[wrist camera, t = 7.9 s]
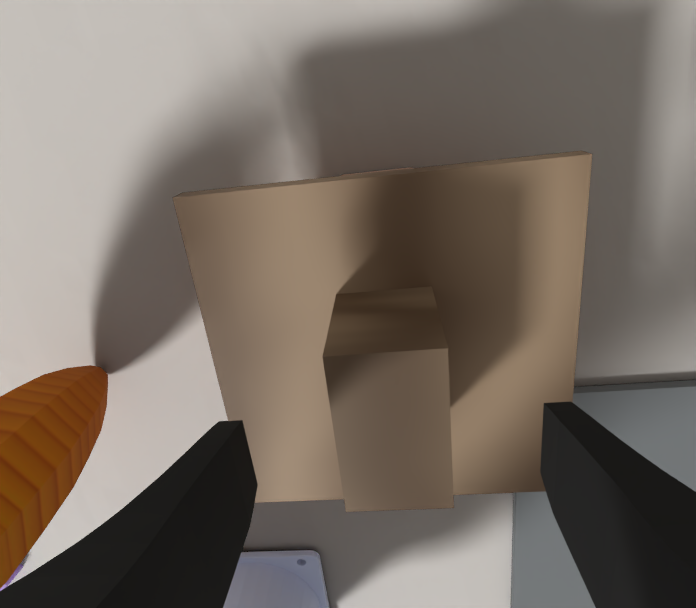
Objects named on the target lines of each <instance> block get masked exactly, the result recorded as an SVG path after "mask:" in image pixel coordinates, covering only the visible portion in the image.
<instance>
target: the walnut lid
mask: <svg viewBox="0 0 696 608" xmlns="http://www.w3.org/2000/svg"><path fill="white" fill-rule="evenodd" d="M591 164H592V154H591V153H587V152H584V151H574V152H565V153H555V154H546V155H536V156H527V157H517V158H508V159H498V160H489V161H479V162H470V163H460V164H451V165H441V166H432V167H422V168H413V169H403V170H394V171H384V172H375V173H365V174H356V175H346V176H337V177H327V178H317V179H308V180H298V181H289V182H279V183H270V184H260V185H251V186H241V187H232V188H222V189H213V190H203V191H194V192H184V193H181V194H179V195H177V196H175V197H173V202H174V206H175V210H176V214H177V218H178V222H179V226H180V230H181V234H182V238H183V242H184V246H185V250H186V254H187V258H188V262H189V266H190V270H191V274H192V278H193V282H194V286H195V290H196V294H197V298H198V302H199V306H200V310H201V314H202V318H203V322H204V326H205V330H206V334H207V338H208V342H209V346H210V350H211V354H212V358H213V362H214V366H215V370H216V374H217V378H218V382H219V386H220V390H221V394H222V398H223V402H224V406H225V410H226V414H227V418H228V421H237V420H243V424H244V429H245V433H246V437H247V441H248V446H249V450H250V454H251V458H252V462H253V467H254V471H255V475H256V479H257V484H258V486H257V492H256V497H255V503H260V502H285V501H311V500H337V499H344V503H345V510H346V512H356V511H384V510H412V509H440V508H454V498H453V495H466V494H492V493H518V492H544V491H546V490H545V487H544V483H543V480H542V477H541V473H540V466H541V446H542V427H543V407H544V403H552V402H570V401H571V402H573V390H574V377H575V365H576V352H577V340H578V327H579V315H580V302H581V289H582V277H583V264H584V252H585V239H586V227H587V214H588V202H589V189H590V176H591Z"/></svg>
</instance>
